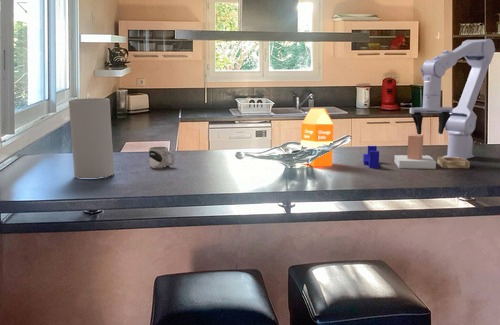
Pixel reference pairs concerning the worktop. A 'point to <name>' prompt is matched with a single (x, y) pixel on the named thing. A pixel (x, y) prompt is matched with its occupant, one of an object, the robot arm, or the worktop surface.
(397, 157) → the platform
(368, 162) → the cable clip
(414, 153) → the block
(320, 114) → the orange juice
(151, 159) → the mug
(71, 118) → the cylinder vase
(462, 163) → the socket
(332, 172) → the worktop surface
